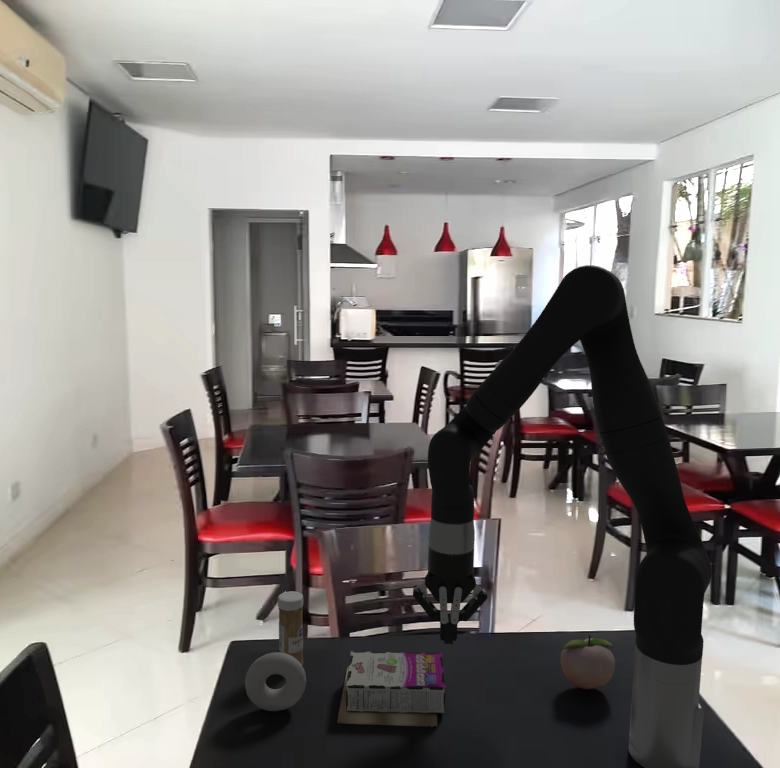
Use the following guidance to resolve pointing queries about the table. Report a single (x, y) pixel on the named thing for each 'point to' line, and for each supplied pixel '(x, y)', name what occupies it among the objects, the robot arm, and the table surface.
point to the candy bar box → (395, 682)
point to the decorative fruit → (588, 662)
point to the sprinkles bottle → (291, 624)
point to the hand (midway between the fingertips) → (448, 641)
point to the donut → (275, 697)
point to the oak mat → (384, 716)
